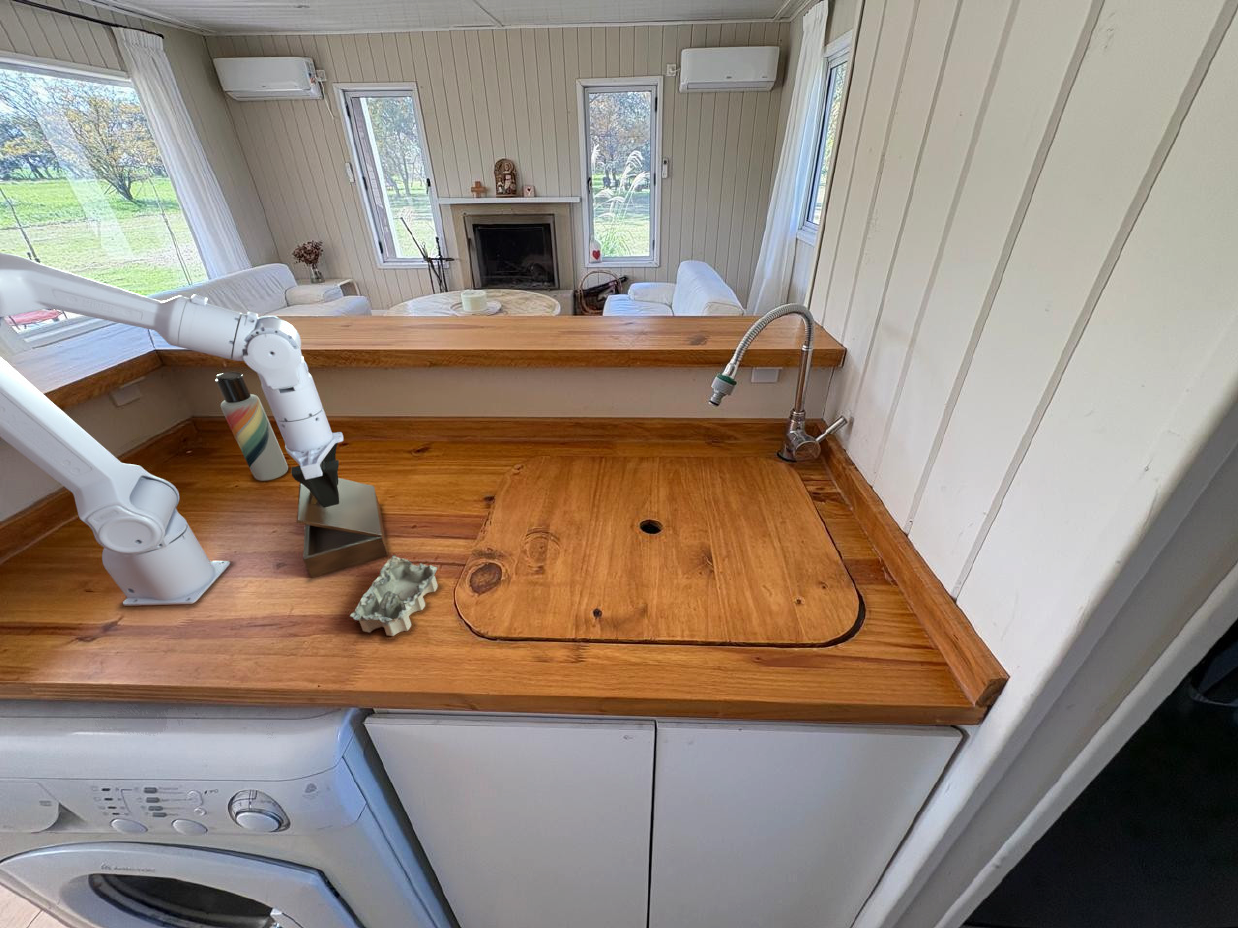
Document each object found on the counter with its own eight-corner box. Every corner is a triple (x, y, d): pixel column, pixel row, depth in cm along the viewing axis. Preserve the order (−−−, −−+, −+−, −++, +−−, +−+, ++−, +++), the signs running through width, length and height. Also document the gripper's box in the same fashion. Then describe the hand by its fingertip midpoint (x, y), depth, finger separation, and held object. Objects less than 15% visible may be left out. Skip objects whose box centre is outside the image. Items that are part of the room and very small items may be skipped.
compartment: (311, 578, 71) (303, 559, 69) (313, 522, 82) (305, 505, 80) (387, 556, 75) (381, 537, 73) (379, 505, 86) (374, 488, 84)
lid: (296, 523, 66) (308, 495, 65) (300, 471, 77) (310, 447, 76) (380, 537, 73) (392, 512, 72) (373, 488, 84) (383, 466, 82)
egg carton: (401, 572, 72) (394, 551, 70) (447, 581, 70) (442, 560, 68) (349, 630, 63) (340, 607, 61) (401, 642, 61) (393, 619, 59)
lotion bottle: (256, 469, 96) (210, 371, 85) (290, 462, 98) (249, 366, 87) (252, 484, 91) (203, 383, 81) (287, 477, 93) (244, 377, 83)
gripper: (333, 428, 62) (363, 513, 70) (331, 387, 73) (358, 465, 81) (268, 440, 60) (306, 528, 67) (276, 396, 71) (309, 476, 78)
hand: (331, 494), depth 74 cm, fingers closed on lid, 5 cm apart
